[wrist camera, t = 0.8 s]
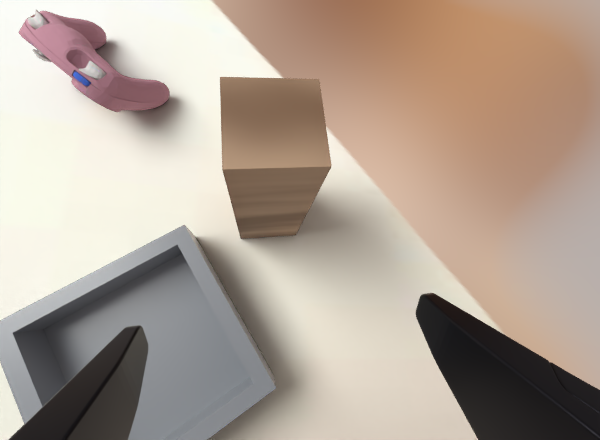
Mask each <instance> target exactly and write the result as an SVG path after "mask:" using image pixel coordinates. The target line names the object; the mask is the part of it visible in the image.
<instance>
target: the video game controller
mask: <svg viewBox="0 0 600 440" xmlns="http://www.w3.org/2000/svg"><path fill="white" fill-rule="evenodd" d="M19 34H20V35H21V36H22V37H23V38H24V39H25V40H26V41H28V42H29V43H30V44H32V45H33V46H34V47H35V48H36V49H37V50H35V49H33V52H34V53H35V54H36V55H37V57H39V58H40V59H42V60H44V61H48V62H53V63H54V64H55V65H57V66H58V67H59V68H60V69H62V70H63V71H64V72H65V73H66V74H68V75H69V76H70V77H71V78H73V79H72V84H73V85H74V86H75V87H76V88H77V89H78V90H79V91H80V92H81V93H83V94H84V95H85V96H87V97H88V98H90V99H91V100H93V101H94V102H96V103H98V104H100V105H101V106H103V107H105V108H107V109H109V110H112V111H115V112H120V111H121V110H147V109H152V108H156V107H158V106H161V105H163V104H164V103H165V102H166V101H167V100H168V98H169V89H168V87H167V86H166V85H165V84H164V83H161V82H159V81H156V80H144V79H135V78H130V77H126V76H123V75H121V74H120V73H118V72H117V71H116V70H115V69H114V68H113V67H112V66H111V65H110V64H109V63H108V62H107V61H105V60H104V59H103V58H102V57H101V56H100V55H98V54H97V53H96V51H95V49H97V48H100V47H101V46H103V45H104V44H105V43H106V34H105V32H104V31H103V29H102V28H101V27H99V26H98V25H96V24H94V23H93V22H90V21H86V20H82V19H74V18H67V17H63V16H59V15H56V14H53V13H50V12H47V11H40V12H38V11H37V10H36V14H35V15H33V16H31V17H29V18H27V19H26V21H25V22H24V24H23V26H22V27H21V29H20V31H19Z"/></svg>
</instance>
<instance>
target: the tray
mask: <svg viewBox="0 0 600 440" xmlns="http://www.w3.org/2000/svg"><path fill="white" fill-rule="evenodd" d="M136 325H141V326H142V327H143V330H144V333H145V336H146V339H147V342H148V355H147V361H146V366H145V371H144V377H143V382H142V388H141V393H140V398H139V403H138V407H137V411H136V414H135V418H134V421H133V424H132V428H131V431H130V434H129V438H128V440H207V439H209V438H210V437H211V436H213V435H214V434H216V433H217V432H218V431H220V430H221V429H222V428H224V427H225V426H226V425H228V424H229V423H230V422H232V421H233V420H234V419H236V418H237V417H238V416H240V415H241V414H242V413H244V412H245V411H246V410H248V409H249V408H250V407H252V406H253V405H254V404H256V403H257V402H258V401H260V400H261V399H262V398H264V397H265V396H266V395H268V394H269V393H270V392H272V391H273V390H274V389H276V385H275V380H274V375H273V373H272V372H271V370H270V368H269V366H268V365H267V363H266V361H265V359H264V357H263V356H262V354H261V352H260V350H259V349H258V347H257V345H256V343H255V341H254V340H253V338H252V336H251V334H250V333H249V331H248V329H247V327H246V326H245V324H244V322H243V320H242V318H241V317H240V315H239V313H238V311H237V310H236V308H235V306H234V304H233V303H232V301H231V299H230V297H229V295H228V294H227V292H226V290H225V288H224V287H223V285H222V283H221V281H220V279H219V278H218V276H217V274H216V272H215V271H214V269H213V267H212V265H211V264H210V262H209V260H208V258H207V256H206V255H205V253H204V251H203V249H202V248H201V246H200V244H199V242H198V240H197V239H196V237H195V236H194V235H193V233H192V232H191V231H190V230H189V229H188V228H187V227H186V226H185V225H183V226H181V227H179V228H177V229H175V230H173V231H171V232H169V233H168V234H166V235H164V236H162V237H160V238H158V239H156V240H154V241H152V242H150V243H148V244H146V245H144V246H143V247H141V248H139V249H137V250H135V251H133V252H131V253H129V254H127V255H125V256H123V257H121V258H119V259H118V260H116V261H114V262H112V263H110V264H108V265H106V266H104V267H102V268H100V269H98V270H96V271H94V272H93V273H91V274H89V275H87V276H85V277H83V278H81V279H79V280H77V281H75V282H73V283H71V284H69V285H68V286H66V287H64V288H62V289H60V290H58V291H56V292H54V293H52V294H50V295H48V296H46V297H44V298H43V299H41V300H39V301H37V302H35V303H33V304H31V305H29V306H27V307H25V308H23V309H21V310H19V311H18V312H16V313H14V314H12V315H10V316H8V317H6V318H4V319H2V320H0V363H1V365H2V368H3V370H4V373H5V375H6V378H7V380H8V383H9V386H10V388H11V391H12V393H13V396H14V398H15V401H16V403H17V406H18V409H19V411H20V414H21V416H22V419H23V421H24V424H25V423H26V422H27V421H28V420H29V419H30V418H31V417H33V416H34V415H35V414H36V413H37V412H38V411H39V410H40V409H41V408H42V407H43V406H44V405H45V404H46V403H47V402H48V401H49V400H50V399H51V398H52V397H53V396H54V395H55V394H56V393H57V392H58V391H59V390H61V389H62V388H63V387H64V386H65V385H66V384H67V383H68V382H69V381H70V380H71V379H72V378H73V377H74V376H75V375H76V374H77V373H78V372H79V371H80V370H81V369H82V368H83V367H84V366H85V365H86V364H87V363H88V362H90V361H91V360H92V359H93V358H94V357H95V356H96V355H97V354H98V353H99V352H100V351H101V350H102V349H103V348H104V347H105V346H106V345H107V344H108V343H109V342H110V341H111V340H112V339H113V338H114V337H115V336H116V335H118V334H119V333H120V332H121V331H122V330H123V329H124V328H125V327H128V326H136Z"/></svg>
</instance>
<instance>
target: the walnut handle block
mask: <svg viewBox="0 0 600 440" xmlns="http://www.w3.org/2000/svg"><path fill="white" fill-rule="evenodd" d="M220 95H221V132H222V169H223V173H224V177H225V181H226V185H227V188H228V192H229V196H230V200H231V203H232V207H233V211H234V215H235V218H236V222H237V226H238V230H239V233H240V237H241V239H244V238H260V237H275V236H291V235H296V233H297V232H298V230H299V228H300V226H301V224H302V222H303V220H304V218H305V216H306V214H307V212H308V210H309V209H310V207H311V205H312V203H313V201H314V199H315V197H316V195H317V193H318V191H319V189H320V187H321V186H322V184H323V182H324V180H325V178H326V176H327V174H328V172H329V170H330V168H331V160H330V153H329V146H328V138H327V131H326V124H325V117H324V111H323V104H322V97H321V89H320V82H319V79H286V78H242V77H220Z"/></svg>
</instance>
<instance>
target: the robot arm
mask: <svg viewBox="0 0 600 440" xmlns="http://www.w3.org/2000/svg"><path fill="white" fill-rule="evenodd" d="M416 317H417V320H418V322H419V325H420V327H421V329H422V332H423V334H424V336H425V339H426V341H427V343H428V346H429V348H430V350H431V353H432V355H433V357H434V359H435V361H436V363H437V365H438V367H439V369H440V371H441V372H442V374H443V376H444V378H445V380H446V382H447V383H448V385H449V387H450V389H451V391H452V392H453V394H454V396H455V398H456V400H457V402H458V403H459V405H460V407H461V409H462V411H463V413H464V414H465V416H466V418H467V420H468V422H469V423H470V425H471V427H472V429H473V431H474V433H475V434H476V436H477V438H478V440H600V390H599V389H597V388H595V387H593V386H591V385H590V384H588V383H586V382H584V381H582V380H581V379H579V378H577V377H575V376H573V375H572V374H570V373H568V372H566V371H565V370H563V369H562V368H560V367H558V366H557V365H555V364H553V363H549V361H548V360H546V359H545V358H543V357H541V356H539V355H538V354H536V353H534V352H533V351H531V350H529V349H528V348H526V347H524V346H522V345H521V344H519V343H517V342H516V341H514V340H512V339H511V338H509V337H507V336H506V335H504V334H502V333H500V332H499V331H497V330H495V329H494V328H492V327H490V326H489V325H487V324H485V323H483V322H482V321H480V320H478V319H477V318H475V317H473V316H472V315H470V314H468V313H466V312H465V311H463V310H461V309H460V308H458V307H456V306H455V305H453V304H451V303H450V302H448V301H446V300H444V299H443V298H441V297H439V296H438V295H436V294H434V293H428V294H422V295H421V296H420V299H419V302H418V306H417V309H416ZM147 355H148V342H147V339H146V336H145V333H144V330H143V327H142V326H141V325H136V326H128V327H125V328H124V329H123V330H122V331H121V332H120V333H119V334H118V335H116V336H115V337H114V338H113V339H112V340H111V341H110V342H109V343H108V344H107V345H106V346H105V347H104V348H103V349H102V350H101V351H100V352H99V353H98V354H97V355H96V356H95V357H94V358H93V359H92V360H91V361H90V362H88V363H87V364H86V365H85V366H84V367H83V368H82V369H81V370H80V371H79V372H78V373H77V374H76V375H75V376H74V377H73V378H72V379H71V380H70V381H69V382H68V383H67V384H66V385H65V386H64V387H63V388H62V389H61V390H59V391H58V392H57V393H56V394H55V395H54V396H53V397H52V398H51V399H50V400H49V401H48V402H47V403H46V404H45V405H44V406H43V407H42V408H41V409H40V410H39V411H38V412H37V413H36V414H35V415H34V416H33V417H31V418H30V419H29V420H28V421H27V422H26V423H25V424H24V425H23V426H22V427H21V428H20V429H19V430H18V431H17V432H16V433H15V434H14V435H13V436H12V437H11V438H10V439H9V440H128V438H129V434H130V431H131V428H132V424H133V421H134V418H135V414H136V411H137V407H138V403H139V398H140V393H141V388H142V382H143V377H144V371H145V366H146V361H147Z"/></svg>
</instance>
